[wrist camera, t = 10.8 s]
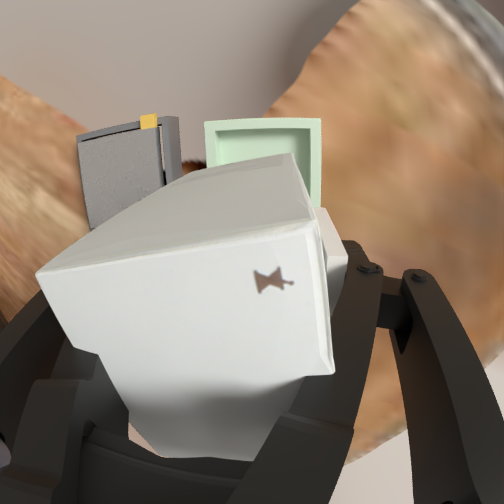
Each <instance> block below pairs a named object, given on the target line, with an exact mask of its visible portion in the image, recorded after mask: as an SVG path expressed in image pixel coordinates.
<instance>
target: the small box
mask: <svg viewBox="0 0 504 504" xmlns="http://www.w3.org/2000/svg"><path fill="white" fill-rule="evenodd" d="M35 276H36V279H37V281H38V283H39V285H40V287H41V289H42V291H43V293H44V295H45V297H46V299H47V301H48V303H49V305H50V306H51V308H52V310H53V312H54V314H55V316H56V318H57V319H58V321H59V323H60V325H61V327H62V328H63V330H64V332H65V334H66V335H67V337H68V339H69V340H70V342H71V344H72V345H73V347H75V348H78V349H81V350H84V351H88V352H91V353H95V354H98V355H99V357H100V359H101V361H102V363H103V365H104V367H105V369H106V371H107V373H108V375H109V377H110V379H111V381H112V383H113V385H114V386H115V388H116V390H117V392H118V394H119V395H120V397H121V399H122V400H123V402H124V404H125V405H126V407H127V409H128V410H129V423H131V425H132V426H133V427H134V428H135V429H136V431H137V432H139V434H140V435H141V436H142V437H143V438H144V439H145V440H146V441H147V442H148V443H149V444H150V445H151V446H152V447H153V449H154V450H155V451H156V452H157V453H158V454H159V455H162V456H167V457H173V458H190V457H216V458H224V459H232V460H242V461H254V459H255V457H256V456H257V454H258V452H259V451H260V449H261V447H262V446H263V444H264V442H265V440H266V439H267V437H268V435H269V433H270V432H271V430H272V428H273V426H274V425H275V423H276V421H277V420H278V418H279V416H280V415H281V414H282V413H283V412H287V411H288V410H289V409H290V407H291V405H292V403H293V401H294V399H295V397H296V395H297V393H298V391H299V389H300V387H301V385H302V383H303V381H304V379H305V376H310V375H330V374H333V373H334V372H335V365H334V359H333V350H332V339H331V326H330V313H329V300H328V289H327V279H326V270H325V262H324V255H323V247H322V240H321V233H320V228H319V223H318V220H317V217H316V214H315V211H314V209H313V206H312V203H311V200H310V197H309V194H308V192H307V189H306V187H305V184H304V181H303V178H302V176H301V173H300V171H299V169H298V167H297V165H296V162H295V159H294V155H293V153H284V154H278V155H272V156H266V157H261V158H255V159H250V160H245V161H240V162H235V163H230V164H225V165H220V166H215V167H210V168H206V169H202V170H197V171H193V172H190V173H188V174H187V175H185V176H183V177H181V178H179V179H177V180H175V181H173V182H171V183H169V184H167V185H165V186H164V187H162V188H160V189H158V190H157V191H155V192H153V193H152V194H150V195H148V196H146V197H145V198H143V199H142V200H140V201H138V202H136V203H135V204H133V205H131V206H129V207H128V208H126V209H125V210H123V211H121V212H120V213H118V214H116V215H115V216H113V217H112V218H110V219H109V220H107V221H106V222H104V223H103V224H101V225H100V226H98V227H97V228H95V229H94V230H92V231H91V232H89V233H88V234H86V235H85V236H84V237H82V238H81V239H79V240H78V241H76V242H75V243H73V244H72V245H70V246H69V247H68V248H66V249H65V250H64V251H63V252H61V253H60V254H59V255H57V256H56V257H54V258H53V259H52V260H50V261H49V262H48V263H47V264H45V265H44V266H43V267H42V268H41V269H40V270H38V271H37V272H36V273H35Z"/></svg>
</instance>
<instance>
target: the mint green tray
mask: <svg viewBox="0 0 504 504" xmlns="http://www.w3.org/2000/svg"><path fill="white" fill-rule="evenodd" d="M204 130H205V146H206V163H207V168H210V167H215V166H220V165H225V164H230V163H235V162H240V161H245V160H250V159H255V158H261V157H266V156H272V155H278V154H284V153H293V155H294V159H295V162H296V165H297V167H298V169H299V171H300V173H301V176H302V178H303V181H304V184H305V187H306V189H307V192H308V194H309V197H310V200H311V203H312V206H313V208H320V201H321V119H320V118H255V119H235V120H234V119H233V120H219V121H208V122H204Z"/></svg>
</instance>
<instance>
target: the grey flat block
mask: <svg viewBox="0 0 504 504" xmlns="http://www.w3.org/2000/svg"><path fill="white" fill-rule="evenodd" d="M157 126H162V134H163V147H164V159H165V171H166V181H167V184H169V183H171V182H173V181H175V180H177V179H179V178H181V177H183V174H182V162H181V149H180V135H179V119H178V117H173V116H165V117H159V118H157V114H156V113H154V114H149V115H142V116H140V121H136V122H132V123H127V124H122V125H117V126H113V127H109V128H104V129H100V130H96V131H92V132H89V133H85V134H81V135H78V136H76V138H77V150H78V143H81V142H85V141H89V140H93V139H96V138H99V137H103V136H108V135H112V134H117V133H122V132H127V131H132V130H137V129H147V128H153V127H157ZM78 159H79V150H78ZM79 167H80V160H79ZM80 175H81V168H80ZM81 182H82V176H81ZM82 189H83V183H82ZM83 195H84V189H83ZM84 201H85V196H84ZM85 206H86V201H85ZM86 212H87V207H86ZM87 217H88V212H87ZM88 222H89V218H88ZM89 227H90V223H89ZM94 229H95V228H91V227H90V232H91V231H92V230H94Z"/></svg>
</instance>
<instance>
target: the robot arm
mask: <svg viewBox="0 0 504 504" xmlns="http://www.w3.org/2000/svg"><path fill="white" fill-rule="evenodd" d="M313 209H314V211H315V214H316V217H317V220H318V223H319V228H320V233H321V240H322V247H323V255H324V262H325V270H326V279H327V289H328V300H329V313H330V318H331V319H330V326H331V339H332V350H333V359H334V365H335V372H334V373H333V374H330V375H310V376H305V379H304V381H303V383H302V385H301V387H300V389H299V391H298V393H297V395H296V397H295V399H294V401H293V403H292V405H291V407H290V409H289V410H288V411H287V412H283V413H282V414H281V415H280V416H279V418H278V420H277V421H276V423H275V425H274V426H273V428H272V430H271V432H270V433H269V435H268V437H267V439H266V440H265V442H264V444H263V446H262V447H261V449H260V451H259V452H258V454H257V456H256V457H255V459H254V461H242V460H232V459H224V458H216V457H190V458H164V457H160V456H158V455H156V454H154V453H152V452H150V451H148V450H146V449H145V448H143V447H141V446H139V445H138V444H136V443H134V442H132V441H131V440H129V437H128V422H129V410H128V409H127V407H126V405H125V404H124V402H123V400H122V399H121V397H120V395H119V394H118V392H117V390H116V388H115V386H114V385H113V383H112V381H111V379H110V377H109V375H108V373H107V371H106V369H105V367H104V365H103V363H102V361H101V359H100V357H99V355H98V354H95V353H91V352H88V351H84V350H81V349H78V348H75V347H73V345H72V344H71V342H70V340H69V339H68V337H67V335H66V334H65V332H64V330H63V328H62V327H61V325H60V323H59V321H58V319H57V318H56V316H55V314H54V312H53V310H52V308H51V306H50V305H49V303H48V301H47V299H46V297H45V295H44V293H43V291H42V289H41V290H40V291H39V292H38V293H37V294H36V295H35V296H34V297H33V298H32V299H31V300H30V301H29V302H28V303H27V304H26V305H25V306H24V307H23V308H22V309H21V310H20V311H19V313H18V314H17V315H16V316H15V317H14V318H13V319H12V320H11V321H10V322H9V323H8V322H7V320H6V318H5V317H4V315H3V314H2V312H1V310H0V504H328V503H329V501H330V499H331V496H332V493H333V491H334V489H335V486H336V484H337V481H338V479H339V476H340V473H341V470H342V468H343V465H344V462H345V459H346V456H347V454H348V451H349V447H350V444H351V441H352V438H353V434H354V429H353V427H354V423H355V420H356V416H357V413H358V409H359V405H360V401H361V398H362V394H363V390H364V386H365V381H366V377H367V373H368V368H369V363H370V358H371V353H372V348H373V343H374V337H375V332H376V327H380V328H386V329H389V334H390V338H391V342H392V346H393V351H394V355H395V360H396V364H397V369H398V374H399V379H400V384H401V390H402V395H403V401H404V408H405V414H406V421H407V428H408V436H409V445H410V455H411V465H412V480H413V481H412V482H413V498H414V504H504V420H503V417H502V414H501V411H500V408H499V405H498V403H497V400H496V397H495V395H494V392H493V390H492V387H491V385H490V383H489V380H488V378H487V375H486V373H485V371H484V369H483V366H482V364H481V362H480V360H479V358H478V356H477V354H476V351H475V349H474V347H473V345H472V343H471V341H470V339H469V337H468V336H467V334H466V332H465V330H464V328H463V326H462V324H461V322H460V321H459V319H458V317H457V315H456V313H455V312H454V310H453V308H452V306H451V305H450V303H449V301H448V300H447V298H446V296H445V295H444V293H443V291H442V290H441V288H440V286H439V285H438V283H437V282H436V280H435V278H434V277H433V276H432V275H431V274H429V273H428V272H426V271H425V270H422V269H408V270H406V271H405V272H404V273H403V276H402V279H397V278H391V277H387V276H384V275H383V268H382V267H380V266H379V265H377V264H375V263H372V262H370V261H369V259H368V258H367V256H366V254H365V252H364V251H363V249H362V247H361V246H360V244H358V243H357V242H355V241H351V240H340V237H339V235H338V233H337V231H336V229H335V227H334V225H333V223H332V221H331V219H330V217H329V215H328V213H327V211H326V209H325V208H313Z"/></svg>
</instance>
